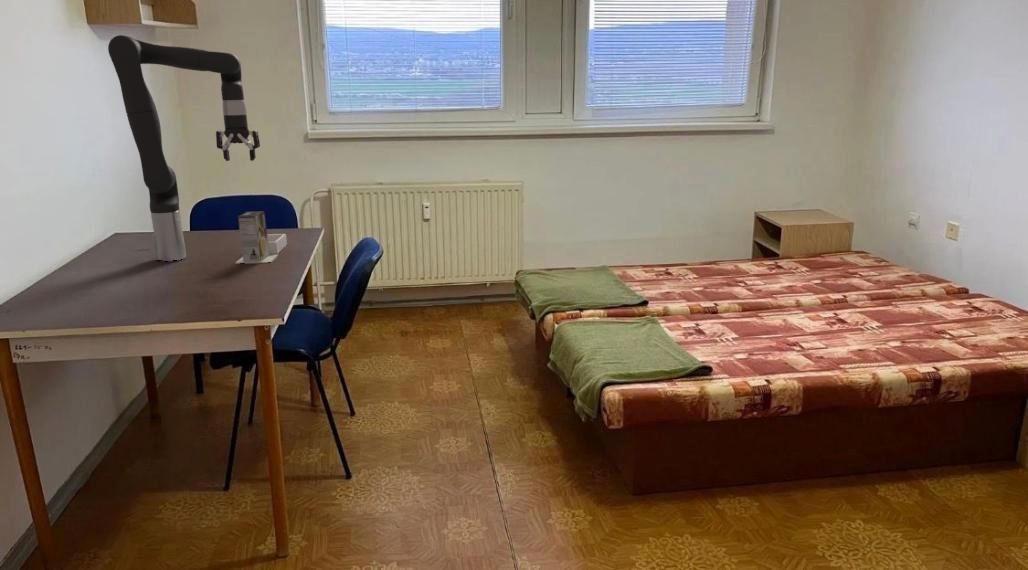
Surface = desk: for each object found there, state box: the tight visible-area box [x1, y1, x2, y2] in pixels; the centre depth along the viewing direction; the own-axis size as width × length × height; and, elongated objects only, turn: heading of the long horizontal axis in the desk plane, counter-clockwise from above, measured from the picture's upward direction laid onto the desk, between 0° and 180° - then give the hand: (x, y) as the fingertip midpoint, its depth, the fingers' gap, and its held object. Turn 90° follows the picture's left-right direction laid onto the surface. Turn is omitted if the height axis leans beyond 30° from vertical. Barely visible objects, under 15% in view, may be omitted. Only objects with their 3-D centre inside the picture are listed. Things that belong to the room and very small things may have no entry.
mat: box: [235, 254, 279, 265], centre depth 256 cm, size 12×10×1 cm
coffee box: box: [237, 210, 270, 262], centre depth 254 cm, size 9×6×16 cm
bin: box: [267, 233, 288, 255], centre depth 269 cm, size 11×14×4 cm
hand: (240, 160), depth 257 cm, fingers open, 8 cm apart
